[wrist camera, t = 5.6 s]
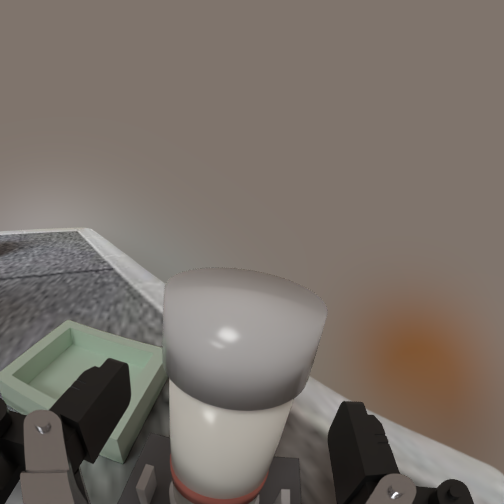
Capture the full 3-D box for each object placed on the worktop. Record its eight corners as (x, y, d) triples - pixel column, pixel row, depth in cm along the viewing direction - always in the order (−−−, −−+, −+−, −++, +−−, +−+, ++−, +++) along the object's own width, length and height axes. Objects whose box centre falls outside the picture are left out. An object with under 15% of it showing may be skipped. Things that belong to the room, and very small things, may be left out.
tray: (5, 403, 13) (-6, 376, 12) (71, 343, 22) (67, 319, 22) (123, 464, 12) (116, 440, 12) (169, 374, 22) (170, 349, 22)
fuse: (162, 530, 8) (136, 311, 5) (180, 473, 12) (189, 259, 9) (249, 546, 8) (342, 347, 5) (255, 486, 12) (315, 280, 9)
